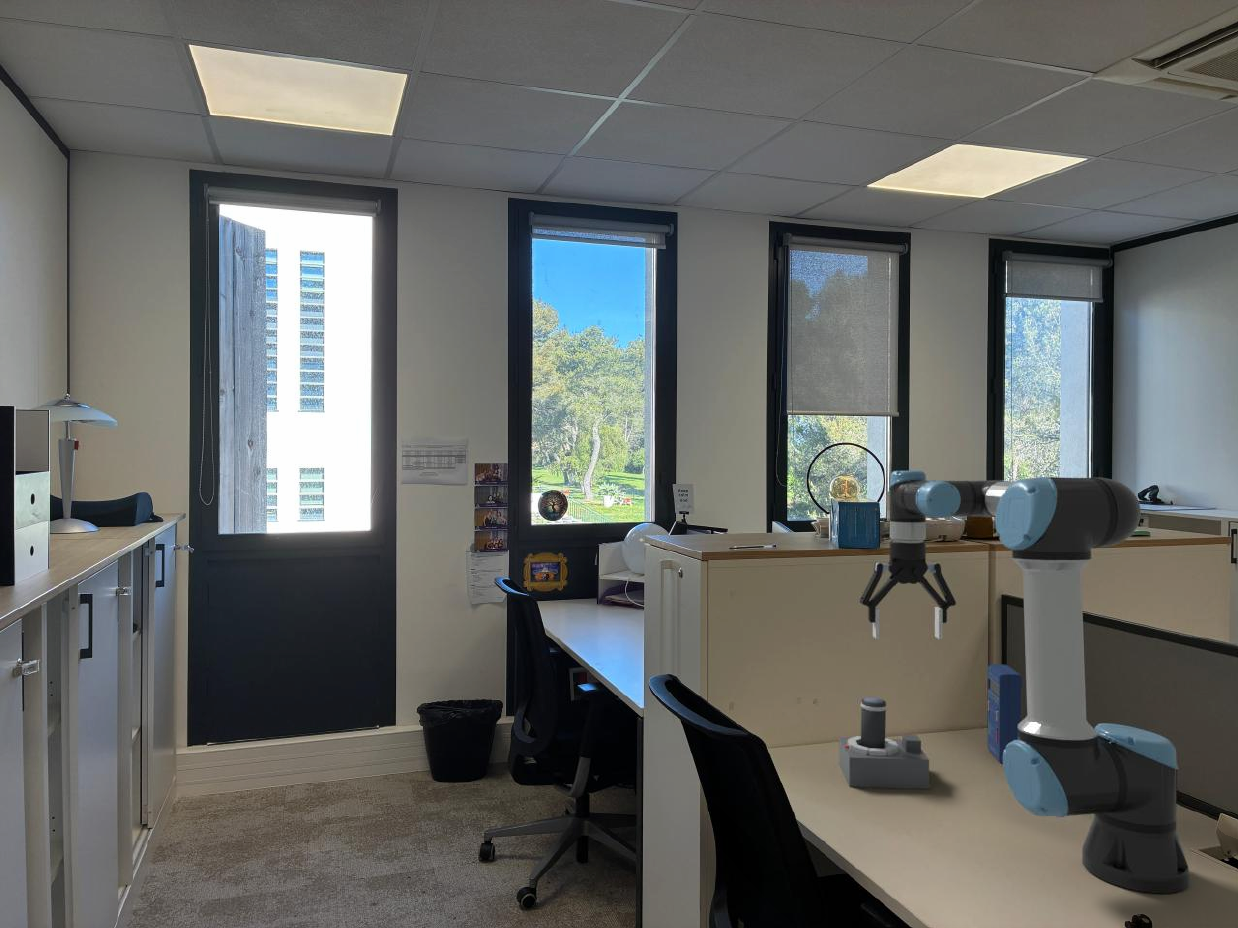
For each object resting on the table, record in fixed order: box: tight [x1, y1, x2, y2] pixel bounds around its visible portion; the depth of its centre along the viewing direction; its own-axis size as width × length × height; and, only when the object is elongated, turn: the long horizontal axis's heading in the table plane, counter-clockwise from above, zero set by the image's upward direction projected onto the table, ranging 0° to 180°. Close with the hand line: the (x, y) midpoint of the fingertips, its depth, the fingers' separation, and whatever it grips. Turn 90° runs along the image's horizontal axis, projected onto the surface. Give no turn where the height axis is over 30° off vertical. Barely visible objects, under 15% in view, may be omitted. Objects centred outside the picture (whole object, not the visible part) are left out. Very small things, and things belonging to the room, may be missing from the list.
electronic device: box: [987, 664, 1023, 764], centre depth 199 cm, size 10×5×20 cm, turn 173°
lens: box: [860, 697, 887, 749], centre depth 187 cm, size 5×5×10 cm
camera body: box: [838, 734, 930, 790], centre depth 187 cm, size 13×16×8 cm
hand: (907, 637), depth 193 cm, fingers open, 13 cm apart
